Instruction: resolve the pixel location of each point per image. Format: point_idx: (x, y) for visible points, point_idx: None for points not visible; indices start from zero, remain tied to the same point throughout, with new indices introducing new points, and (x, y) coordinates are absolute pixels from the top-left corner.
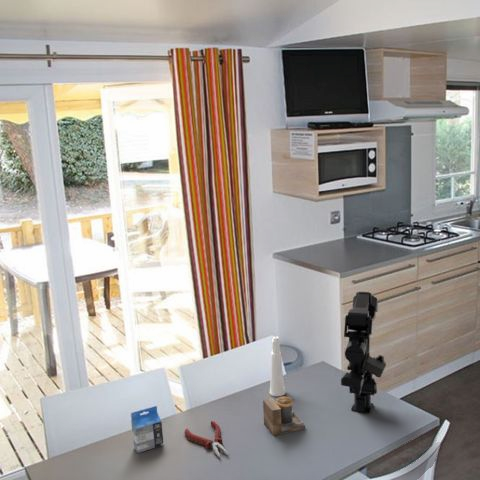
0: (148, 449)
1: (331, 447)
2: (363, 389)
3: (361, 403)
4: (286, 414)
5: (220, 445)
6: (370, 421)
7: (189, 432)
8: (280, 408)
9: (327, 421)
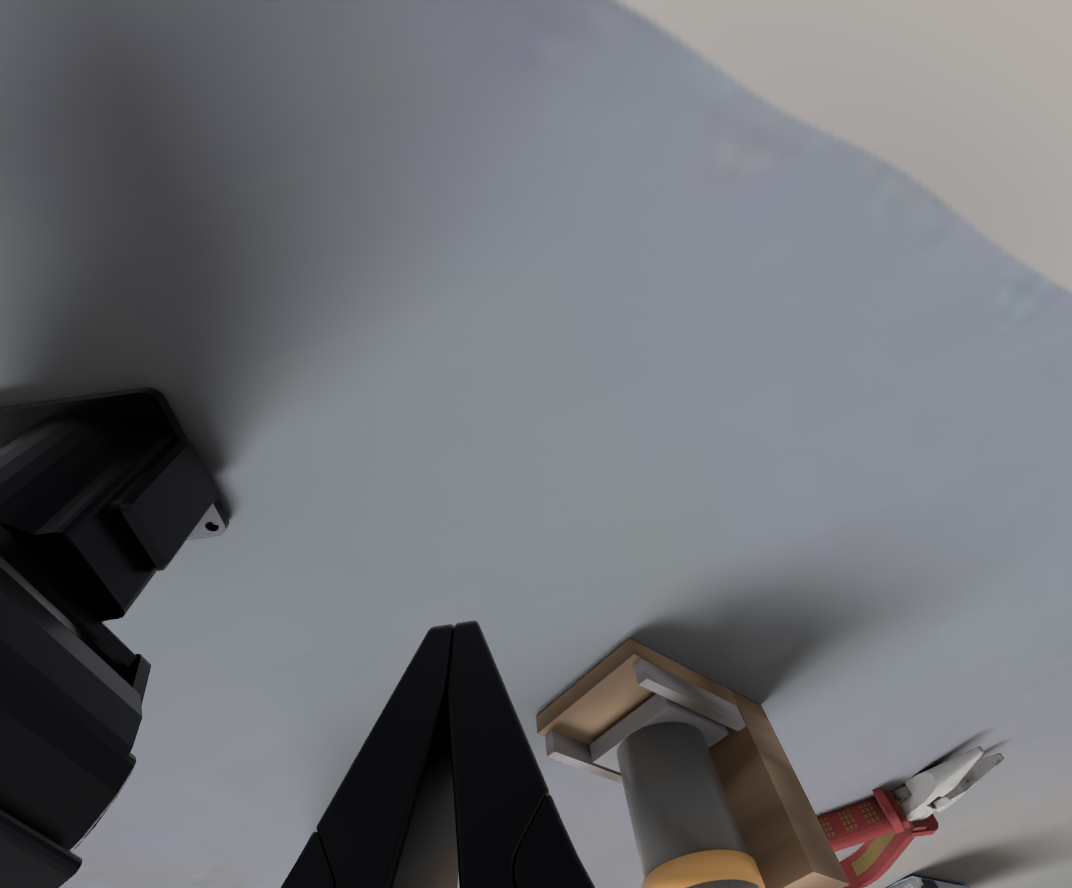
0: (947, 883)
1: (798, 437)
2: (36, 623)
3: (158, 503)
4: (721, 792)
5: (931, 798)
6: (279, 327)
7: (865, 885)
8: (810, 873)
9: (486, 582)
